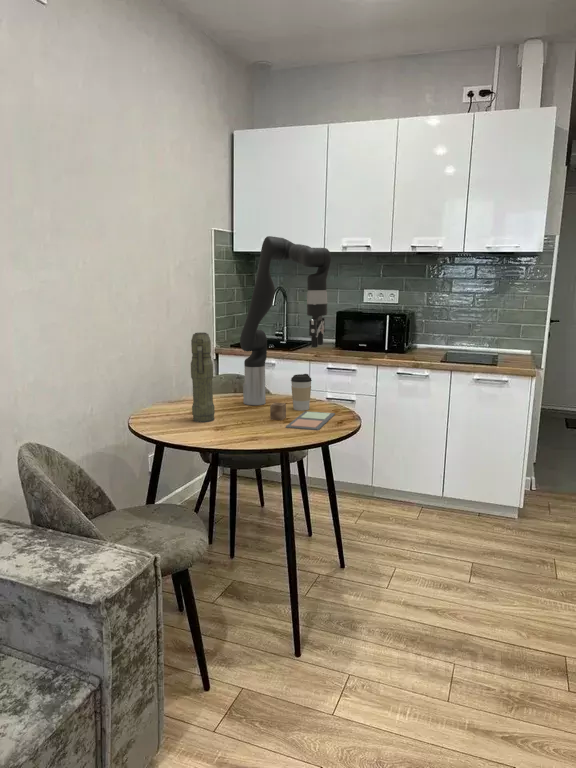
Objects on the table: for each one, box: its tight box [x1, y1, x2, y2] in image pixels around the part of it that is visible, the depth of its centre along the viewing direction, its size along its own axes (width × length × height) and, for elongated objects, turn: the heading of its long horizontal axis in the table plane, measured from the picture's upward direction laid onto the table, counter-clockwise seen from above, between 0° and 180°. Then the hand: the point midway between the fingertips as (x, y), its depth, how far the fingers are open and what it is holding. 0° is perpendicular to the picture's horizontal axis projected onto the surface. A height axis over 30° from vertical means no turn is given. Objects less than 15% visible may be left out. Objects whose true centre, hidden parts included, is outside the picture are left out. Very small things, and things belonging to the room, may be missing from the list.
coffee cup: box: [290, 373, 312, 412], centre depth 249 cm, size 9×9×15 cm
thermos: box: [190, 332, 216, 423], centre depth 229 cm, size 9×12×35 cm
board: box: [285, 410, 336, 431], centre depth 229 cm, size 13×26×1 cm, turn 162°
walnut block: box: [269, 402, 287, 421], centre depth 233 cm, size 5×5×6 cm
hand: (317, 346), depth 217 cm, fingers open, 8 cm apart
